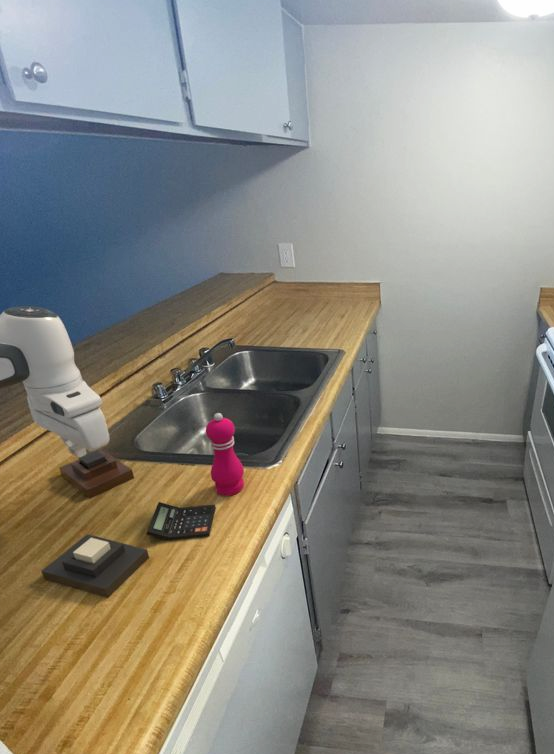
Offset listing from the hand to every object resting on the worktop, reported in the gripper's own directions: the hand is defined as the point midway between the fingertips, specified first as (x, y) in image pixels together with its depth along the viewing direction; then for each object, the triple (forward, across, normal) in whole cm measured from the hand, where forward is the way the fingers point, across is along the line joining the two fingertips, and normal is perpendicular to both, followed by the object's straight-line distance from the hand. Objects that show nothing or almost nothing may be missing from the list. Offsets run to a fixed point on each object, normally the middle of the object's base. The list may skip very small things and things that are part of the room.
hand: (78, 454), depth 95 cm
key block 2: (+15, +16, -9) cm, 24 cm away
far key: (+11, -12, +8) cm, 18 cm away
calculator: (+15, +19, +7) cm, 25 cm away
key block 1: (+15, -12, +8) cm, 21 cm away
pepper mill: (+15, +17, +21) cm, 31 cm away
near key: (+12, +15, -9) cm, 21 cm away
